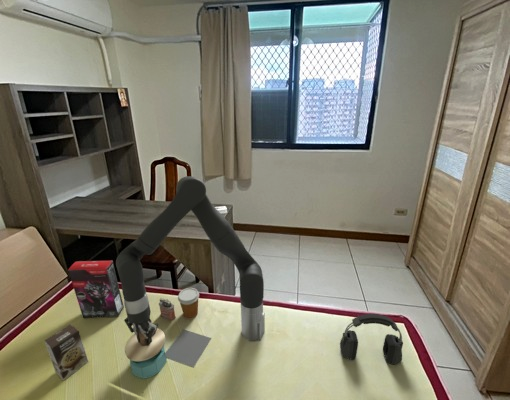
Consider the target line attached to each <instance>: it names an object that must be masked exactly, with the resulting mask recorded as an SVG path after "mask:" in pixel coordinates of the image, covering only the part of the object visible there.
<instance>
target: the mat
mask: <svg viewBox="0 0 510 400" xmlns="http://www.w3.org/2000/svg"><path fill="white" fill-rule="evenodd" d="M211 340H212V337H209V336H207V335H203V334H200V333H197V332H193V331H191V330H188V329H184V328H183V329H182V330H181V331H180V333H179V335H177V337H176V338H175V339H174V341H173V342H172V343H171V344H170V346H169V348H168V349H167V350H165V355H166V359H168V360H171V361H174V362H177V363H180V364H183V365H185V366H188V367H191V368H195V366H196V364H197V363H198V362H199V359H200V358H201V356H202V355H203V353H204V352H205V350H206V348H207V347H208V345H209V343H210V341H211Z"/></svg>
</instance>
